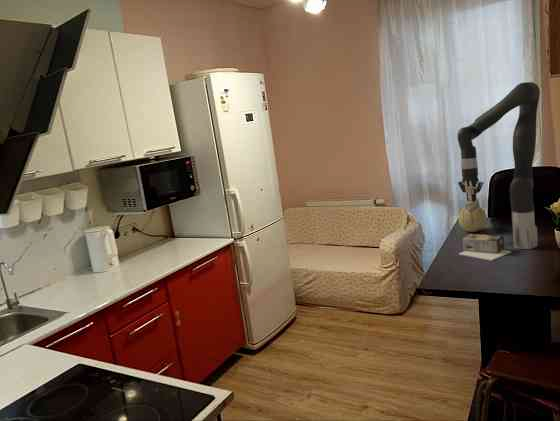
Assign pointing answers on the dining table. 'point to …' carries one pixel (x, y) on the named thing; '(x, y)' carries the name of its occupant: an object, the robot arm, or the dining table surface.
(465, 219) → the cantaloupe
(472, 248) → the coffee box
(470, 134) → the robot arm
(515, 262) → the dining table surface
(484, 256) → the mat
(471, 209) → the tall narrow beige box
